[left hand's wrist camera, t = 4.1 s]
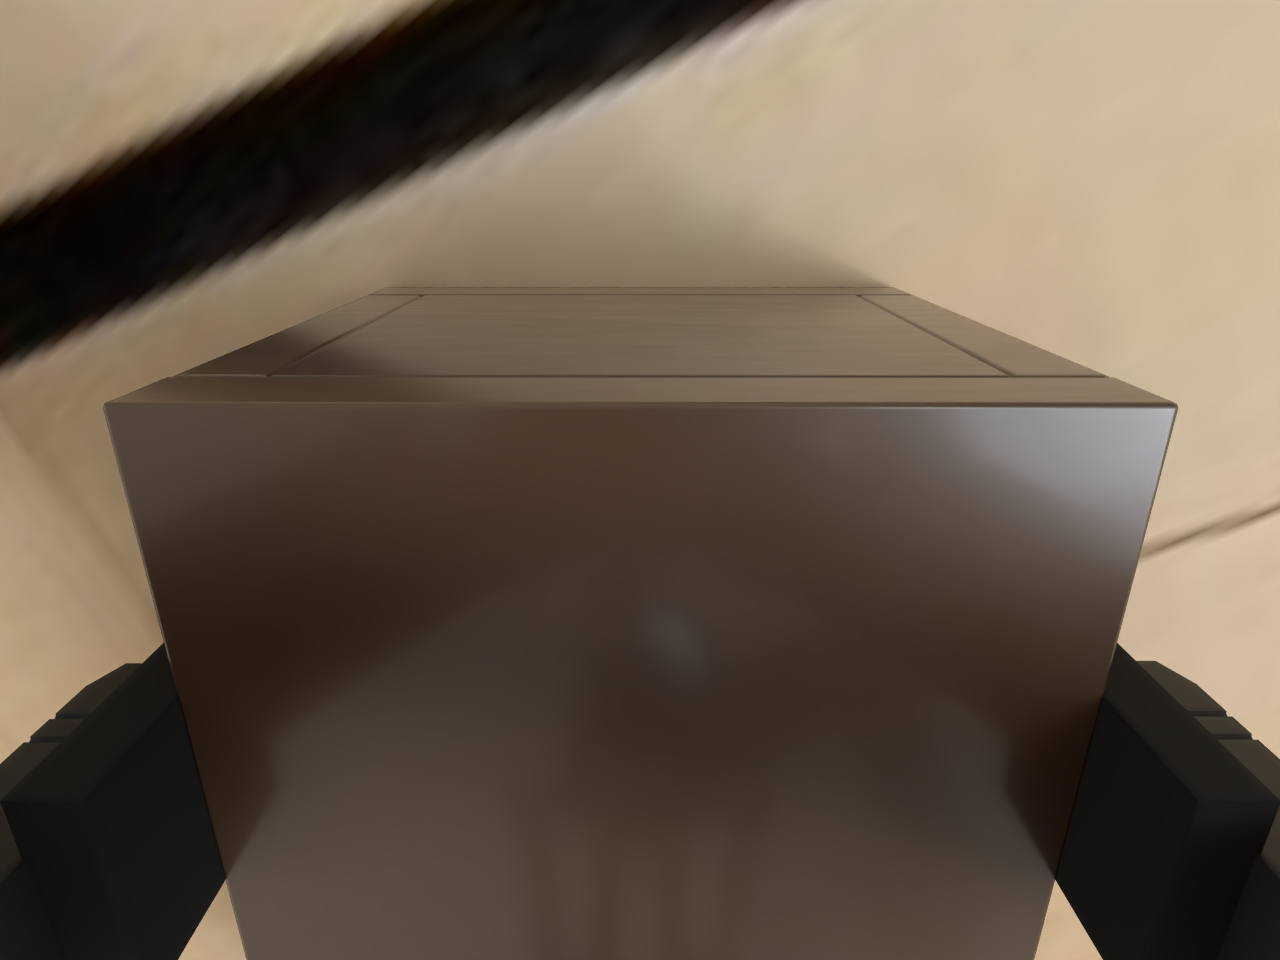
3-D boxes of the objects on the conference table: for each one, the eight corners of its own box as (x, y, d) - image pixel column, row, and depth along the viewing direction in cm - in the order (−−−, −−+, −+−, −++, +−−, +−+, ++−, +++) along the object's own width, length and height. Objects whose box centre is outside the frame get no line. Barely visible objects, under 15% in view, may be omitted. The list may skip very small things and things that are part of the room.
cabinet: (815, 981, 22) (913, 1427, 14) (464, 981, 22) (366, 1428, 14) (897, 287, 15) (1182, 404, 7) (382, 287, 15) (99, 403, 7)
